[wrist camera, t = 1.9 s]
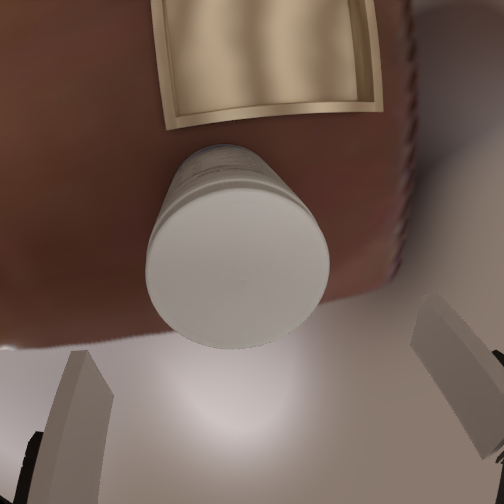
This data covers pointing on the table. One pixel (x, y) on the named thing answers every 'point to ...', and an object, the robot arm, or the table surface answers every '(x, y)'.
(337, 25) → the caddy
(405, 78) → the table surface
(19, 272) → the table surface
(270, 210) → the supplement tub
